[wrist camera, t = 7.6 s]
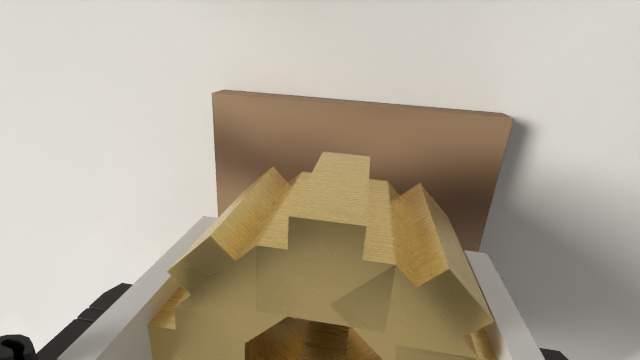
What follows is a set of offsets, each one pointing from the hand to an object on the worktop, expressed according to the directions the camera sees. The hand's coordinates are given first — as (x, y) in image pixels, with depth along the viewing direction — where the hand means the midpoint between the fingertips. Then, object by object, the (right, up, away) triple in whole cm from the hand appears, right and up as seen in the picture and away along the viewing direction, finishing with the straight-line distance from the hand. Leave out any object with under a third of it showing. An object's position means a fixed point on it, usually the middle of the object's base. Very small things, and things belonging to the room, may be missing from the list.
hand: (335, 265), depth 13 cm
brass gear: (0, 0, 0) cm, 0 cm away
